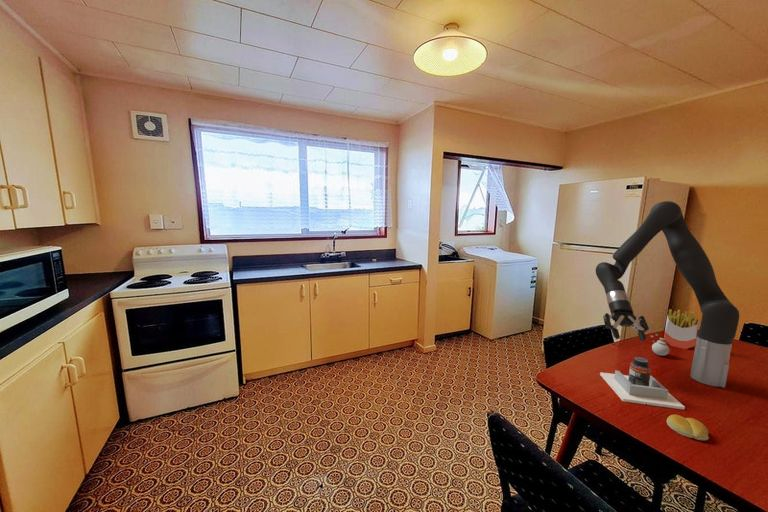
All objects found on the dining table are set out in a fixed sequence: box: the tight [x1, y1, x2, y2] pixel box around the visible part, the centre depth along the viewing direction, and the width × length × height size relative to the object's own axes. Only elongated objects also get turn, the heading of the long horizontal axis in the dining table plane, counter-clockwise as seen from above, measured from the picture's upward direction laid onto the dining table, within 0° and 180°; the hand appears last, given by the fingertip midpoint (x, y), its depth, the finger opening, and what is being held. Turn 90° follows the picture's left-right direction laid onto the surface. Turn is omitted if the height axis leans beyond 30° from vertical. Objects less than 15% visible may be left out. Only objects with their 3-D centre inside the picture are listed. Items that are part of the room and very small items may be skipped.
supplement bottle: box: [628, 356, 652, 386], centre depth 111 cm, size 6×6×11 cm
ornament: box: [650, 333, 670, 356], centre depth 139 cm, size 6×7×10 cm
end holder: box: [599, 369, 686, 411], centre depth 111 cm, size 18×18×4 cm
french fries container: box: [663, 309, 699, 350], centre depth 147 cm, size 5×11×18 cm, turn 47°
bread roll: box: [666, 413, 710, 441], centre depth 91 cm, size 8×9×4 cm
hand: (630, 339), depth 118 cm, fingers open, 8 cm apart
